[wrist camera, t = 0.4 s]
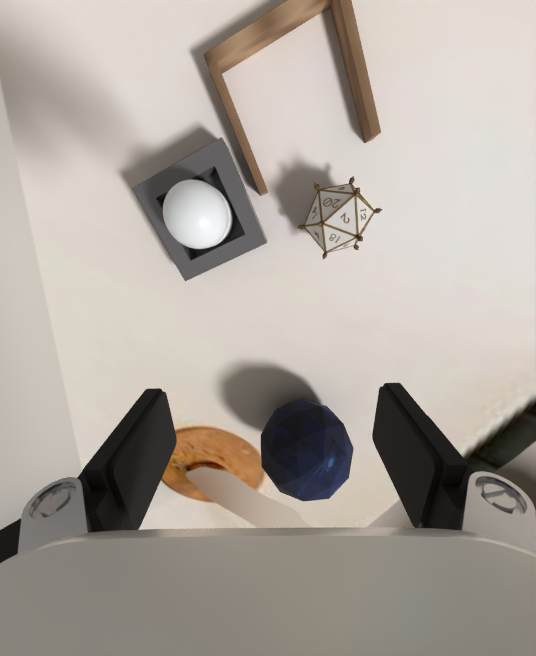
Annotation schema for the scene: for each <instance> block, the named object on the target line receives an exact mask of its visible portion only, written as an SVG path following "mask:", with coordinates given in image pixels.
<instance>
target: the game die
mask: <svg viewBox="0 0 536 656" xmlns="http://www.w3.org/2000/svg"><path fill="white" fill-rule="evenodd" d="M353 182H354V176H353V177H352V178H350V181H349V184H345V185H339V186H334V187H329V188H323V189H320V188H319V187H320V186H319V184H315V183H314V186H315V187H314V188H315V189H316V190H317V191H318V192H317V194H316V196H315V199H314V201H313V204H312V206H311V209H310V211H309V214H308V216H307V219H306V221H305V224H304V225H302V224H301V225H299V226H298V227H297V228H299V229H303V228H305V229H306V230H307V231H308V233H309V234H310V235H311V236H312V237H313V239H314V240H315V241H316V242H317V243H318V245H319V246H320V247H321V248H322V249H323V251H324V254H323V259H325V258H326V256H327V253H328V252H332V251H336V250H340V249H343V248H347V247H351V246H354V248H355V249H356V250H358V248H359V247H358V245H356V243H357V242H358V241H363V237H361V235H362V233H363V231H364V230H365V228H366V226H367V224H368V223H369V221H370V219H371V218H372V216H373V214H374V213H379V212H380V211H382V209H380V208H378V209H377V208H376V209H375V210H374V209H373V208H372V207H371V206H370V205H369V204H368V202H367V201H366V200H365V199H364V198H363V197H362V195H361V194H360V193H359V192H360V187H359V188H355V187H354V186H353V185H352V183H353Z"/></svg>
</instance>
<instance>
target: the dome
mask: <svg viewBox="0 0 536 656" xmlns="http://www.w3.org/2000/svg"><path fill="white" fill-rule="evenodd" d="M163 218H164V222H165V224H166V227H167V229H168V230H169V232H170V233H171V235H172V236H173V237H174V238H175V239H176V240H177V241H178V242H180V243H181V244H183V245H185V246H187V247H190V248H194V249H205V248H209V247H212V246H215V245H217V244H219V243H221V242H222V241H224V240H225V239H226V238H227V236H228V235H229V233H230V231H231V229H232V225H233V212H232V208H231V206H230V203H229V201H228V200H227V198H226V197H225V196H224V195H223V194H222V193H221V192H220V191H219V190H217V189H216V188H214V187H213V186H211V185H210V184H208V183H206V182H203V181H200V180H193V179H191V180H185V181H181V182H179V183H177V184H176V185H174V186H173V187H172V188H171V189H170V190H169V192H168V193H167V195H166V197H165V199H164V203H163Z"/></svg>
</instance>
